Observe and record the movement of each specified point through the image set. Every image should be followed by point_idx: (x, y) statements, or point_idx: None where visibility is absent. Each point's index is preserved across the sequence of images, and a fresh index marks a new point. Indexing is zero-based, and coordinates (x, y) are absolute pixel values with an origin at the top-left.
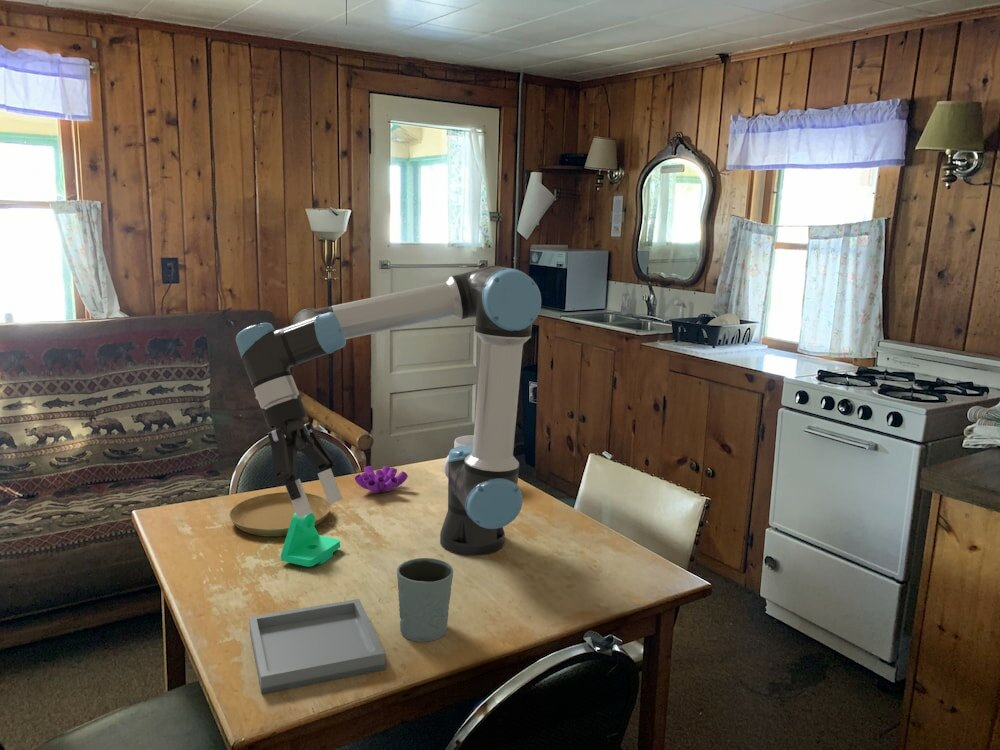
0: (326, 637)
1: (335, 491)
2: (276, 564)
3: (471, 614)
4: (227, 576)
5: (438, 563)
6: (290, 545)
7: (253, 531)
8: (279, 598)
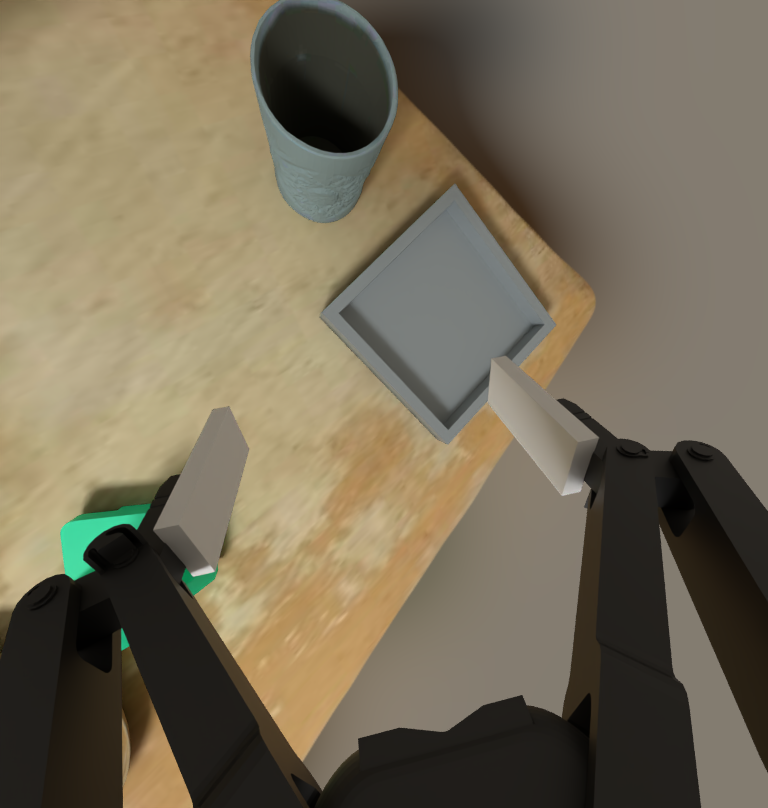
0: (420, 316)
1: (223, 439)
2: (223, 573)
3: (222, 102)
4: (309, 605)
5: (258, 62)
6: (192, 578)
7: (127, 725)
8: (335, 472)
